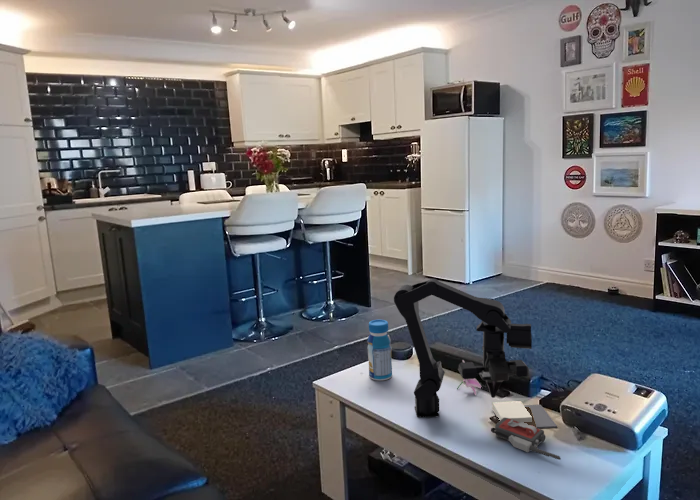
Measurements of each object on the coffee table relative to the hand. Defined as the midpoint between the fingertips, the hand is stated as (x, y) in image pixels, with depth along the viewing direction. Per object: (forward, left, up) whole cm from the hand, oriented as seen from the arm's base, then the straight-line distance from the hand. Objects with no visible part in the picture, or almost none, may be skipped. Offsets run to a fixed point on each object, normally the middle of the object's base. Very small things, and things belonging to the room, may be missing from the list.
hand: (492, 397), depth 155 cm
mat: (+9, 0, -7) cm, 11 cm away
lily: (-3, +19, -7) cm, 20 cm away
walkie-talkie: (+6, -14, -7) cm, 17 cm away
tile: (+1, 0, -5) cm, 5 cm away
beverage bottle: (-30, +34, -7) cm, 46 cm away
